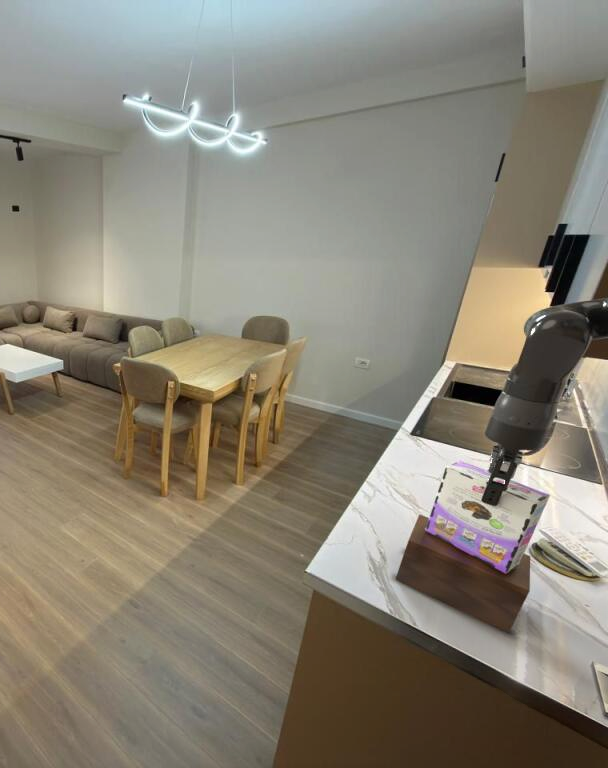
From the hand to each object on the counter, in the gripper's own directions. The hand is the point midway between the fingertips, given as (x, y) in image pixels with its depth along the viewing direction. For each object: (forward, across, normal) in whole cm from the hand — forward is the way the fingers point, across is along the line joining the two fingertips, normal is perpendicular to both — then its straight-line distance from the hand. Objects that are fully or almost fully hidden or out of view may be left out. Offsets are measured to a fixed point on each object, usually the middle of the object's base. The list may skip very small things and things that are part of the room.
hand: (490, 494), depth 77 cm
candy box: (+13, 0, 0) cm, 13 cm away
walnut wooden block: (+24, 0, 0) cm, 24 cm away
